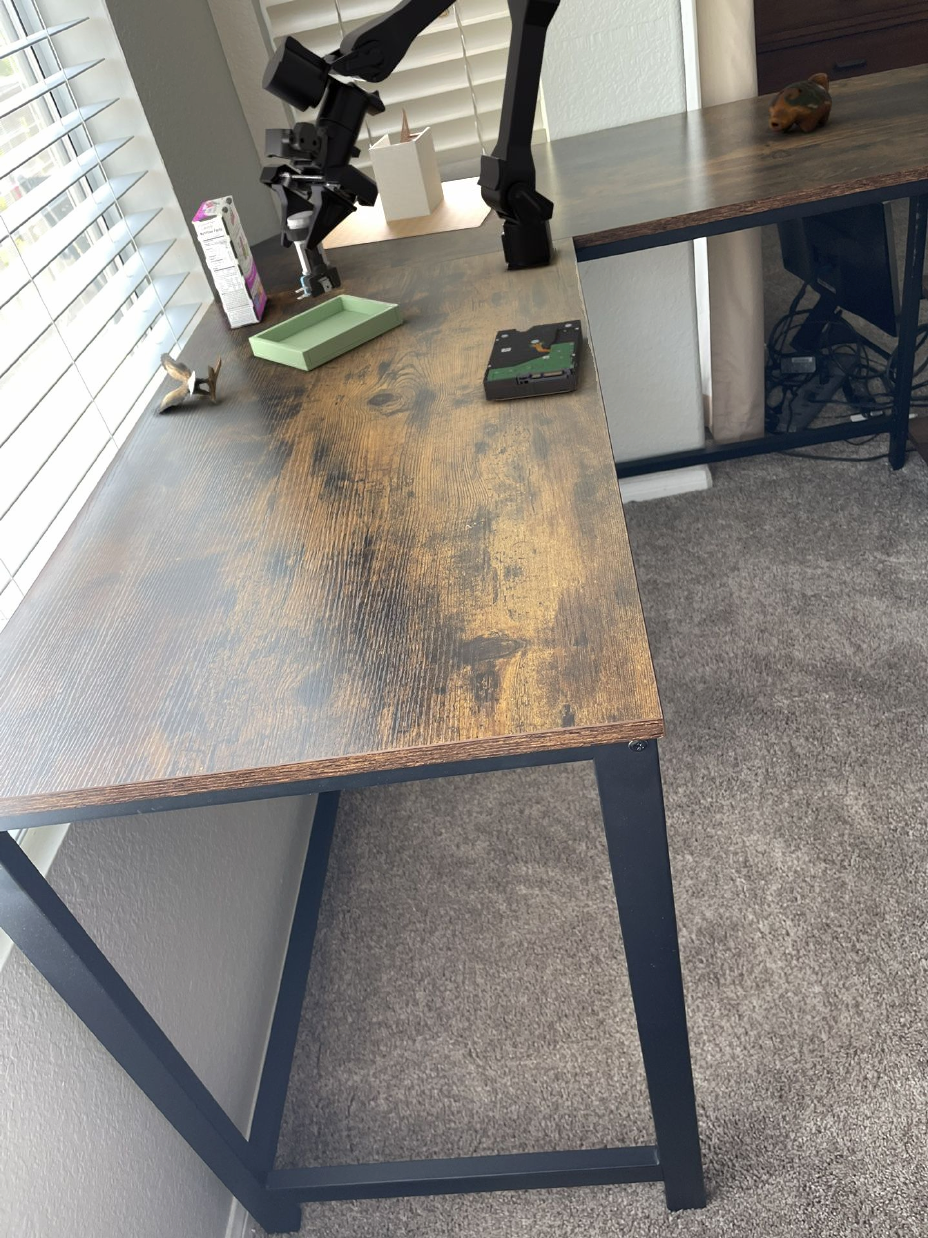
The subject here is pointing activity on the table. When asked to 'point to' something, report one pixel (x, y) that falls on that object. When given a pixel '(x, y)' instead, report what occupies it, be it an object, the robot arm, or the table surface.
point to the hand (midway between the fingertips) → (296, 247)
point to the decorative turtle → (801, 105)
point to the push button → (311, 258)
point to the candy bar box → (230, 261)
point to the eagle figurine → (187, 382)
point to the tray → (325, 331)
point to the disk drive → (534, 361)
